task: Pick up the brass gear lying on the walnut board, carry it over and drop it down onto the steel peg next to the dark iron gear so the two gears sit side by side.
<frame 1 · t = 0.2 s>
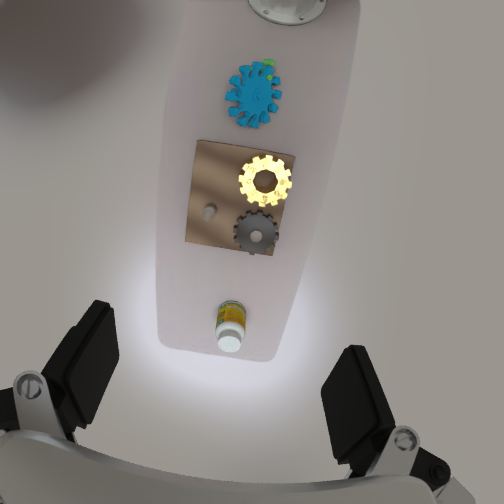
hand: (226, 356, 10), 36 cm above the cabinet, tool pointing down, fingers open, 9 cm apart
brass gear: (264, 176, 42), point 1 cm above the cabinet, touching gear board
gear: (256, 94, 37), on the cabinet
supplement bottle: (232, 310, 54), on the cabinet
gear board: (237, 198, 44), on the cabinet
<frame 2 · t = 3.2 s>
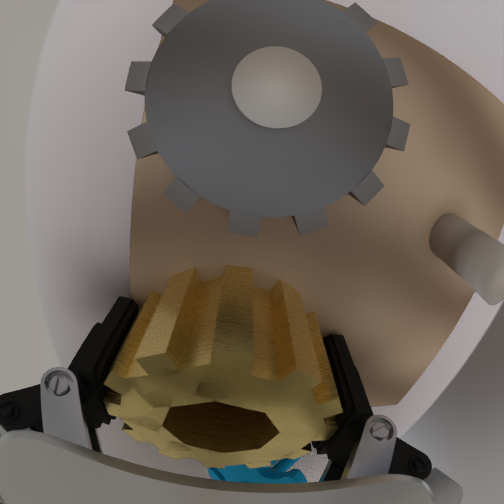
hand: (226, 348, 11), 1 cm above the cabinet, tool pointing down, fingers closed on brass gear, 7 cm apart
brass gear: (227, 346, 11), point 1 cm above the cabinet, touching gear board, gripper
gear: (253, 446, 18), on the cabinet
gear board: (340, 249, 10), on the cabinet
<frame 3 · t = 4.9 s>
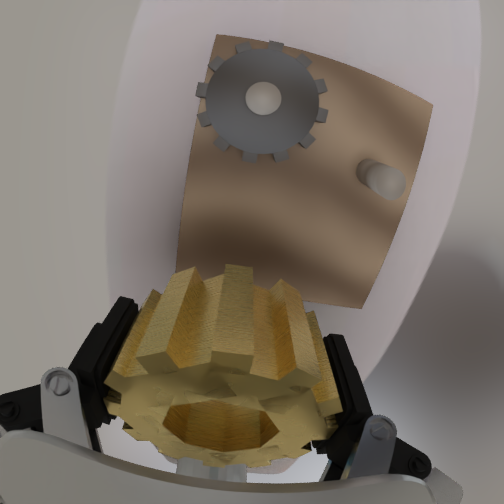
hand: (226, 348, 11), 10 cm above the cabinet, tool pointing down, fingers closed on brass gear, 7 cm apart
brass gear: (227, 345, 11), point 10 cm above the cabinet, touching gripper
gear board: (303, 181, 18), on the cabinet
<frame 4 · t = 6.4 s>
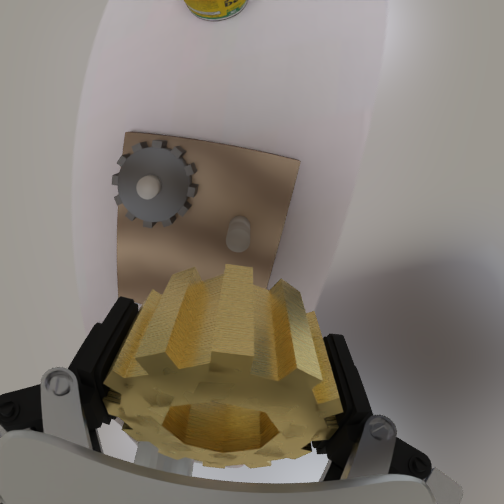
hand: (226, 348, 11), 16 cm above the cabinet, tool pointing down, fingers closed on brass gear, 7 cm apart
brass gear: (227, 346, 11), point 16 cm above the cabinet, touching gripper
supplement bottle: (217, 0, 16), on the cabinet
gear board: (195, 233, 25), on the cabinet
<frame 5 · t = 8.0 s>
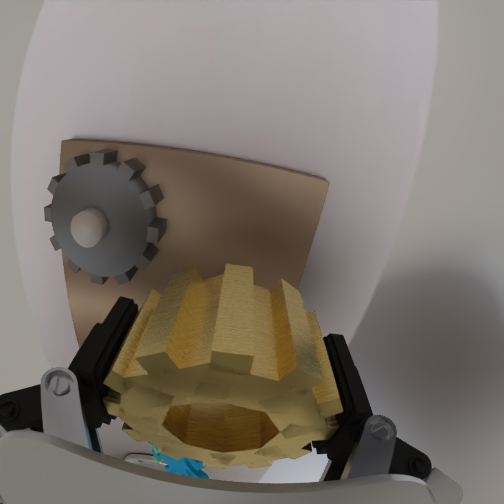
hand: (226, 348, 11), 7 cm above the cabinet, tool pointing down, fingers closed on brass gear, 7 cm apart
brass gear: (227, 345, 11), point 7 cm above the cabinet, touching gripper
gear: (175, 419, 25), on the cabinet
gear board: (169, 286, 17), on the cabinet
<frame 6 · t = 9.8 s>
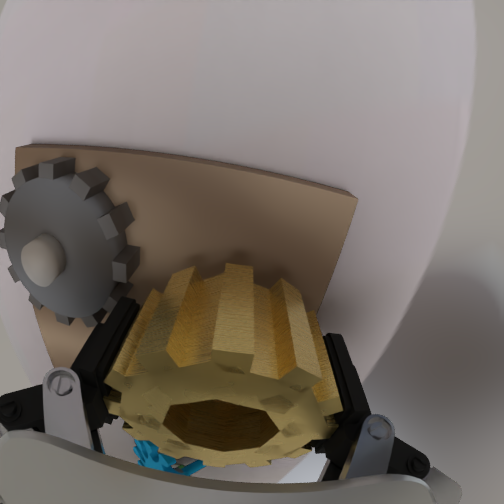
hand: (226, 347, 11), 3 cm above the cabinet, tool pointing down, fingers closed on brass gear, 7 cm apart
brass gear: (227, 345, 11), point 3 cm above the cabinet, touching gripper
gear: (171, 448, 21), on the cabinet
gear board: (152, 322, 14), on the cabinet
when the fingers open (3 cm above the cabinet, at t = 9.8 s): brass gear drops 1 cm, resting on gear board.
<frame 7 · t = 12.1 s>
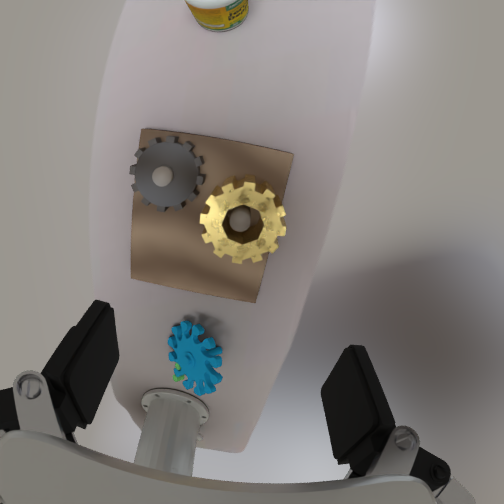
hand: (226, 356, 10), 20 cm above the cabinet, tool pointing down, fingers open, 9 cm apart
brass gear: (244, 211, 27), point 1 cm above the cabinet, touching gear board
gear: (195, 340, 37), on the cabinet
supplement bottle: (221, 13, 20), on the cabinet
gear board: (202, 218, 29), on the cabinet
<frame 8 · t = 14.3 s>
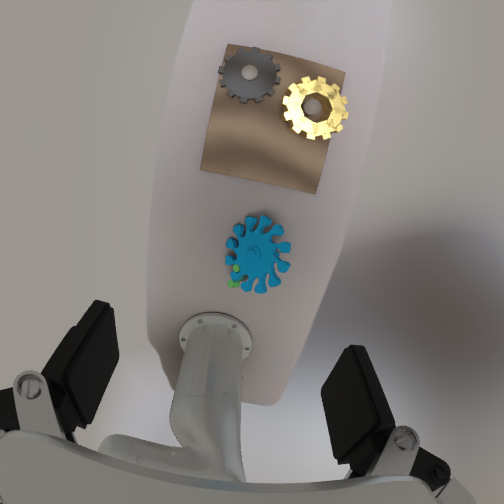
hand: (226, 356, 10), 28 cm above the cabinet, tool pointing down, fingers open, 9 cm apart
brass gear: (309, 109, 30), point 1 cm above the cabinet, touching gear board
gear: (253, 245, 39), on the cabinet
gear board: (272, 116, 32), on the cabinet
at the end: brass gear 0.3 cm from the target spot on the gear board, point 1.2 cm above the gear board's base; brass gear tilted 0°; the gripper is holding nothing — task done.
